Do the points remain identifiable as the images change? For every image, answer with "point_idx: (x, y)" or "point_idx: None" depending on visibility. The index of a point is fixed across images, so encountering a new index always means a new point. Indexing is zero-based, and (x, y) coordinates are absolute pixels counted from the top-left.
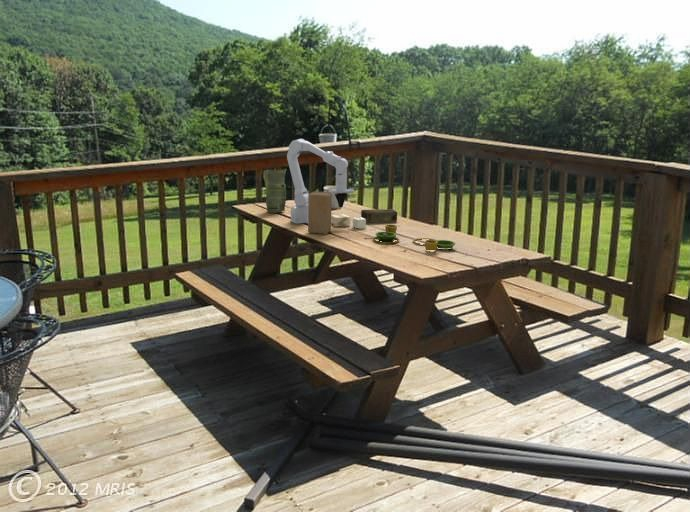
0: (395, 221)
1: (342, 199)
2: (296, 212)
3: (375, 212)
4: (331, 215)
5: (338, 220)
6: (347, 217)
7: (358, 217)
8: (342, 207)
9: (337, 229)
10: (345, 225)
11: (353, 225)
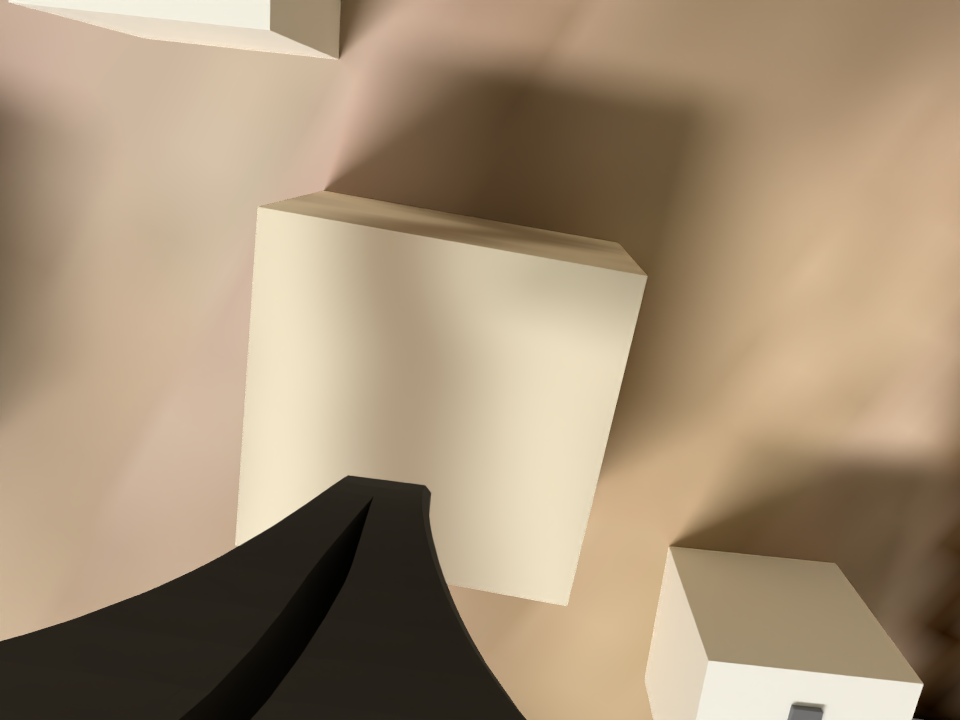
0: None
1: (270, 662)
2: None
3: None
4: (576, 565)
5: (587, 254)
6: (343, 219)
7: (96, 12)
8: (348, 478)
9: (756, 6)
10: (423, 209)
11: (328, 17)
